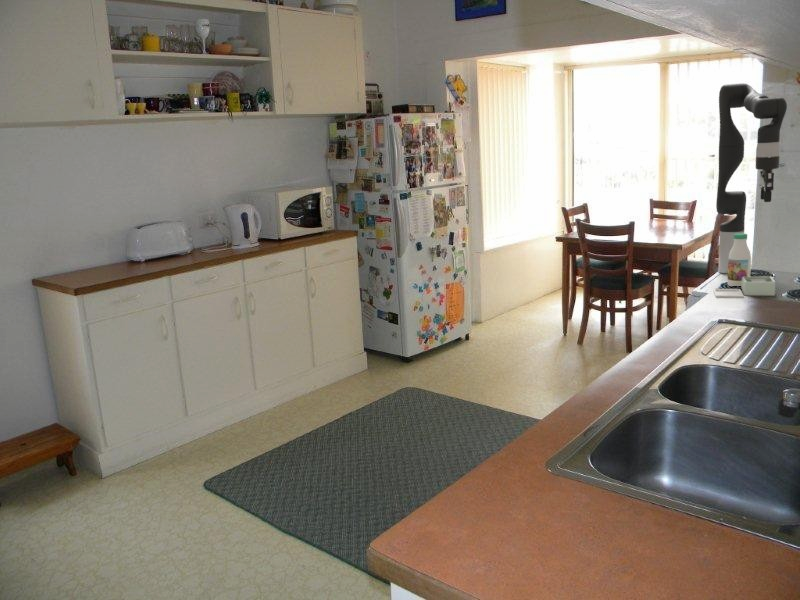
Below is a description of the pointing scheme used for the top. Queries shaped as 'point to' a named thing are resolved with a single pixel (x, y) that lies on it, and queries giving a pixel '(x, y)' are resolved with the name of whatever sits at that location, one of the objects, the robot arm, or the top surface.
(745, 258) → the milk bottle
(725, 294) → the white tray
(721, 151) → the robot arm
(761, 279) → the gray cube
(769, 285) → the green bin
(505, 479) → the top surface
